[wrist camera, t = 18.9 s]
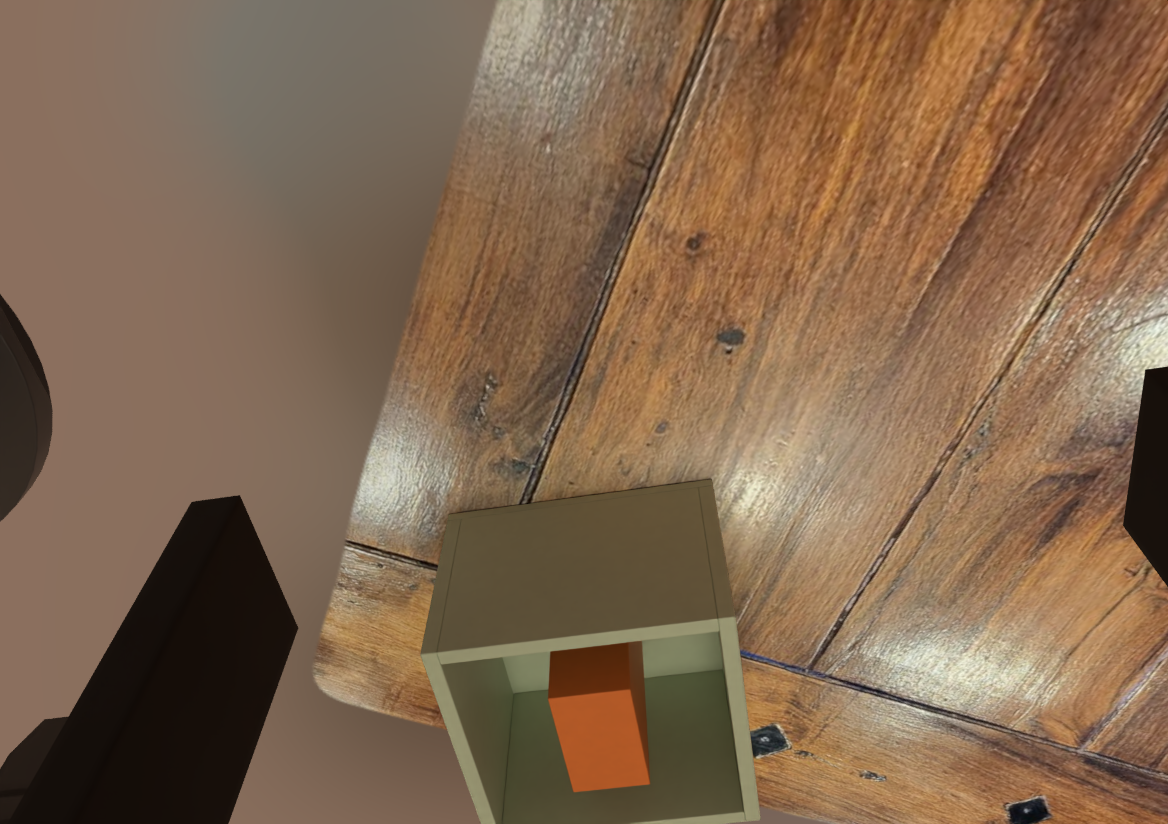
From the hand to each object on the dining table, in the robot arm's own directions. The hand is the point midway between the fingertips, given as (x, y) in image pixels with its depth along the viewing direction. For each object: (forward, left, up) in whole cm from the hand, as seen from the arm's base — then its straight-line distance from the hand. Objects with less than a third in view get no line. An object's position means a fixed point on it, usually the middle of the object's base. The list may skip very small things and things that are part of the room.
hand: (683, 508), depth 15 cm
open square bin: (-6, -30, -32) cm, 44 cm away
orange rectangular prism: (-6, -30, -31) cm, 44 cm away
